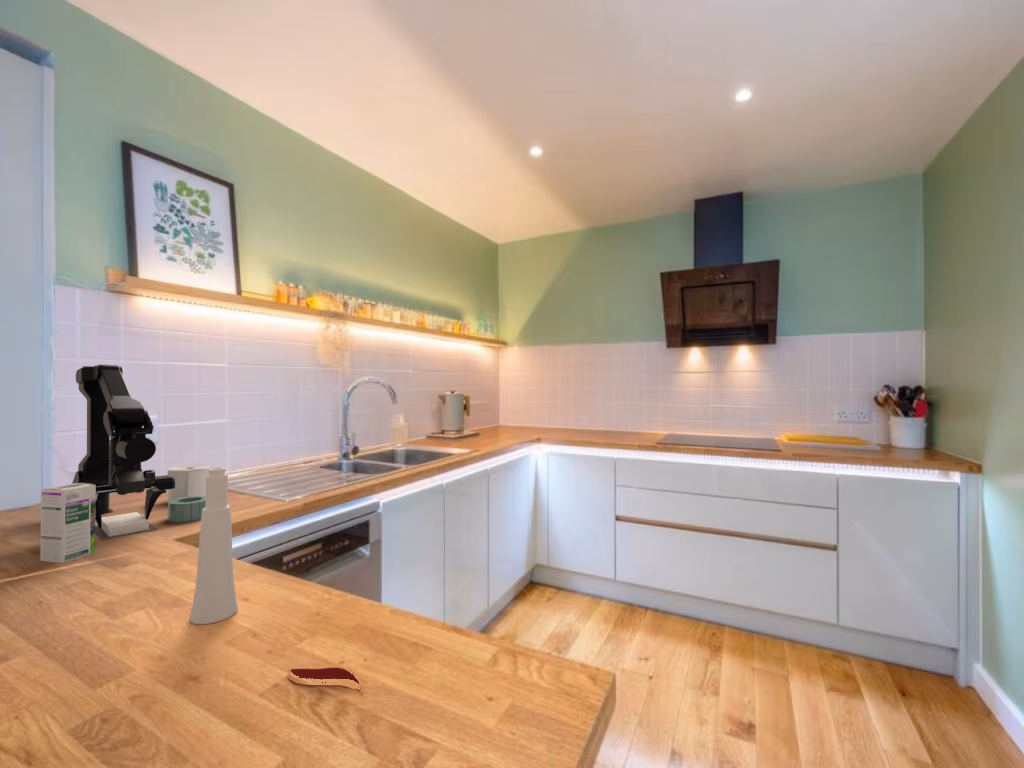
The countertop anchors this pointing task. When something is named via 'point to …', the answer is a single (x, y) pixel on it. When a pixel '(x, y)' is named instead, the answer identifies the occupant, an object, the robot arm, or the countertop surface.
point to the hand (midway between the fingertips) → (123, 523)
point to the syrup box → (67, 522)
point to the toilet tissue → (188, 481)
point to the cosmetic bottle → (215, 555)
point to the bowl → (186, 508)
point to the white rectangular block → (124, 524)
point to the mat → (104, 536)
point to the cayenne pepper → (324, 673)
